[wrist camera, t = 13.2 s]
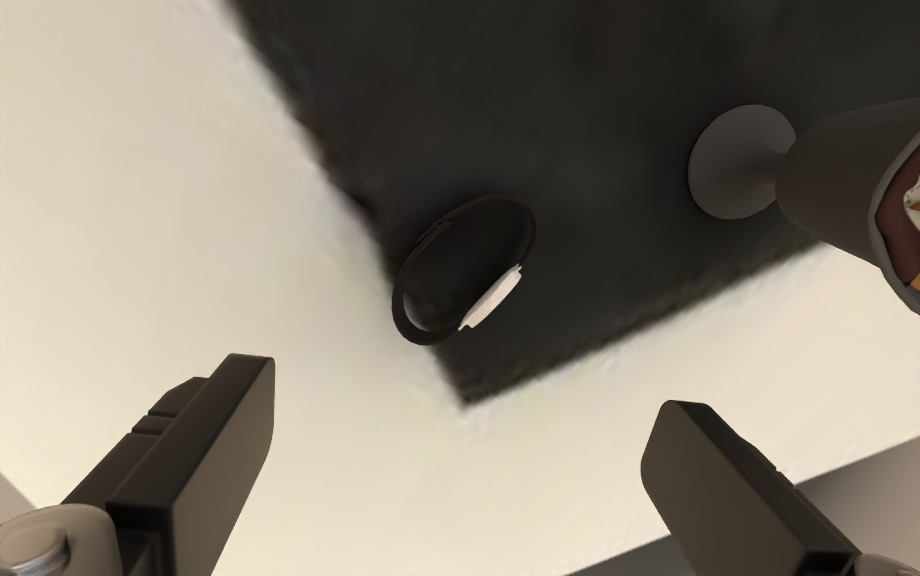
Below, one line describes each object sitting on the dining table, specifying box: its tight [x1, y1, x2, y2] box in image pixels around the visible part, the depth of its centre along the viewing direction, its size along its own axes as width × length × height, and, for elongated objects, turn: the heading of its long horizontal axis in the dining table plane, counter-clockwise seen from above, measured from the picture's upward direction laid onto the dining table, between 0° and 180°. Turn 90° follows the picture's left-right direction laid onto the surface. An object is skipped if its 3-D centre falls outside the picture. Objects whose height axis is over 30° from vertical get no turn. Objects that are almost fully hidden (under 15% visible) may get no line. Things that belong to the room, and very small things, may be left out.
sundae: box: [688, 97, 920, 315], centre depth 13 cm, size 7×7×15 cm
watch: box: [392, 194, 539, 346], centre depth 19 cm, size 8×5×4 cm, turn 138°
